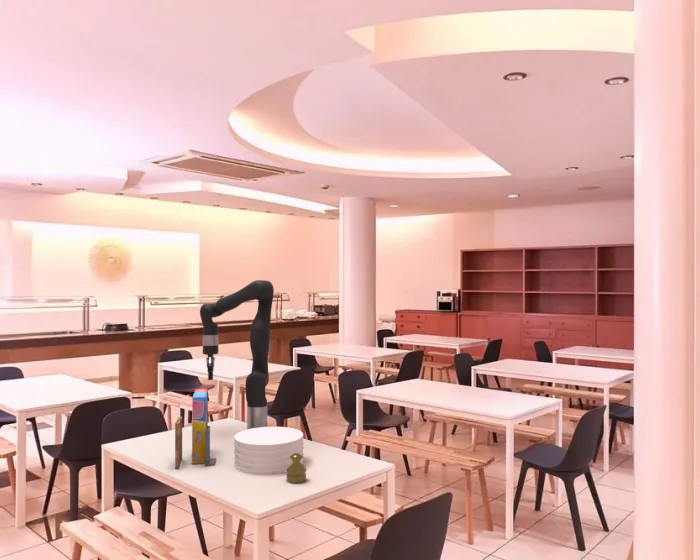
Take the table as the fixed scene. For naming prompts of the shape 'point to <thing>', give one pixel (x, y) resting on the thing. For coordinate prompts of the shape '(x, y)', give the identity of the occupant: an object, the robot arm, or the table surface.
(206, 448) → the dark metal bookend
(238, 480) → the table surface
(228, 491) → the table surface
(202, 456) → the game box
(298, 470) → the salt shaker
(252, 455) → the plate stack
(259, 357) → the robot arm
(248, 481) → the table surface
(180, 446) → the oak shelf wall
